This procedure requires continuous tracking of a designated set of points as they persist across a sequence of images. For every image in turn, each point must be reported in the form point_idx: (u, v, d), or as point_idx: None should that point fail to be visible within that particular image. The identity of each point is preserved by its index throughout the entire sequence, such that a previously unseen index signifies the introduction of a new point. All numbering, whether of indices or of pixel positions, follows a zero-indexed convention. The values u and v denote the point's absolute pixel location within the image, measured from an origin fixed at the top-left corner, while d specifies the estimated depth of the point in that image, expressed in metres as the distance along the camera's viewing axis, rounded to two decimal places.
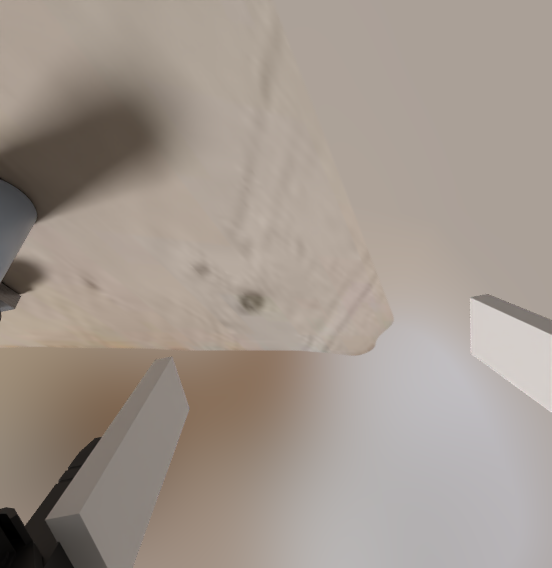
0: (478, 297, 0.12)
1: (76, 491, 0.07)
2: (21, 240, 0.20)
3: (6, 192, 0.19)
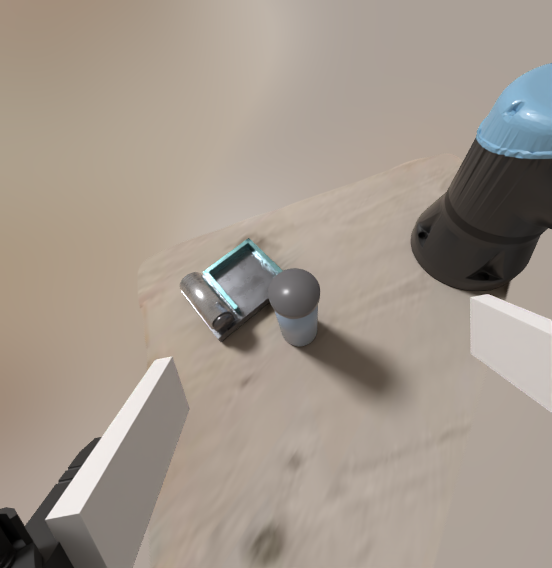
0: (478, 297, 0.12)
1: (76, 491, 0.07)
2: (300, 339, 0.37)
3: (316, 333, 0.39)
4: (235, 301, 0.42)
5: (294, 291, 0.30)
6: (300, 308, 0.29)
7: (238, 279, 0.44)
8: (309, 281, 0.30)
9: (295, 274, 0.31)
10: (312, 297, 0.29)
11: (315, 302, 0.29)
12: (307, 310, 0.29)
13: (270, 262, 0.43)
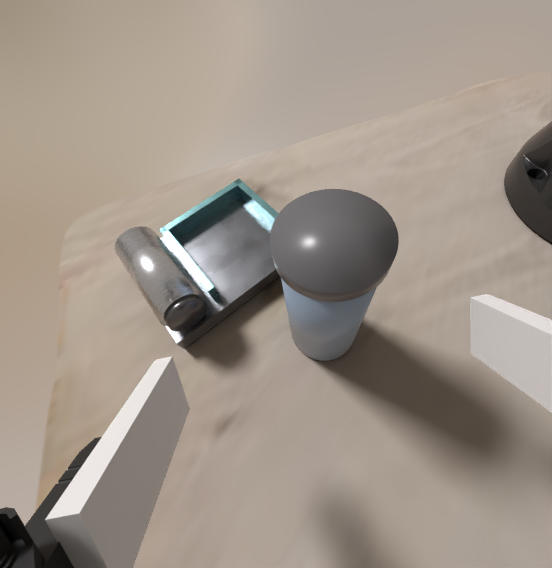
0: (478, 297, 0.12)
1: (76, 491, 0.07)
2: (329, 349, 0.19)
3: None
4: (212, 279, 0.24)
5: (334, 236, 0.12)
6: (352, 274, 0.11)
7: (218, 244, 0.26)
8: (369, 214, 0.13)
9: (334, 200, 0.13)
10: (380, 249, 0.12)
11: (389, 261, 0.12)
12: (370, 279, 0.11)
13: (274, 214, 0.25)
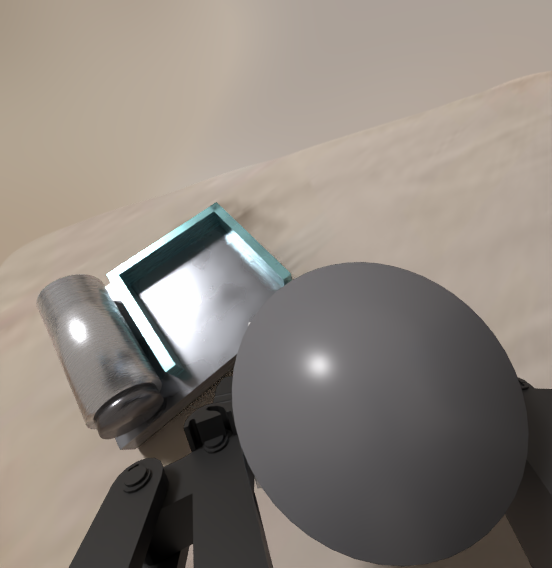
0: None
1: None
2: None
3: None
4: (176, 345, 0.18)
5: (373, 383, 0.06)
6: (427, 509, 0.05)
7: (188, 293, 0.19)
8: (445, 327, 0.06)
9: (366, 290, 0.07)
10: (486, 428, 0.05)
11: (514, 466, 0.05)
12: (477, 529, 0.04)
13: (262, 254, 0.18)
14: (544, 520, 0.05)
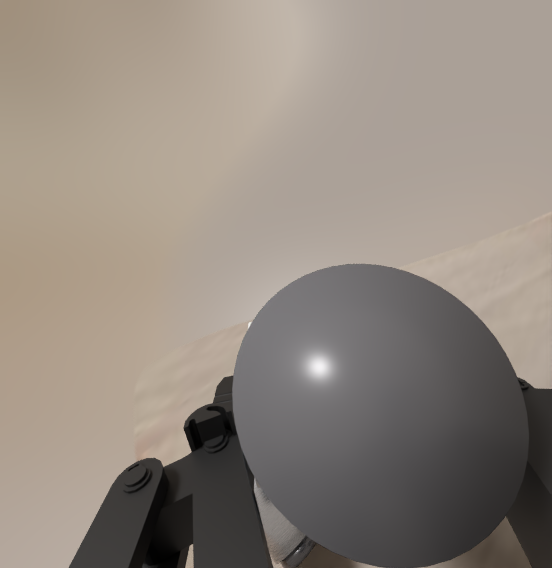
0: None
1: None
2: None
3: None
4: None
5: (373, 385, 0.06)
6: (427, 511, 0.05)
7: None
8: (445, 329, 0.06)
9: (367, 291, 0.07)
10: (487, 430, 0.05)
11: (515, 468, 0.05)
12: (477, 532, 0.04)
13: None
14: (544, 520, 0.05)
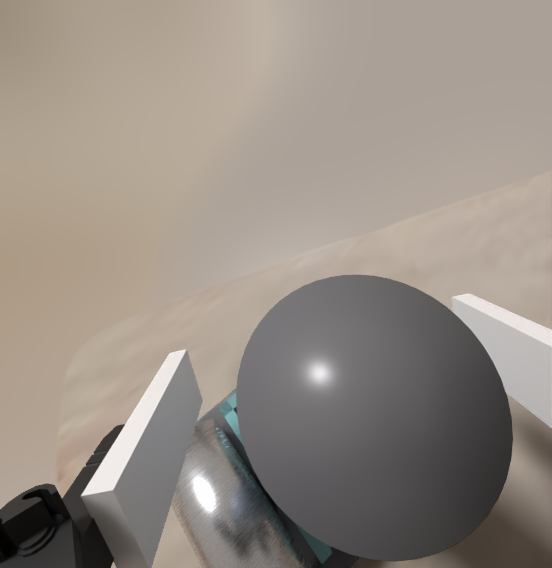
0: (459, 296, 0.12)
1: (108, 471, 0.07)
2: None
3: None
4: None
5: (368, 391, 0.06)
6: (417, 509, 0.05)
7: None
8: (436, 338, 0.06)
9: (363, 301, 0.07)
10: (473, 434, 0.05)
11: (499, 469, 0.05)
12: (463, 527, 0.05)
13: None
14: None
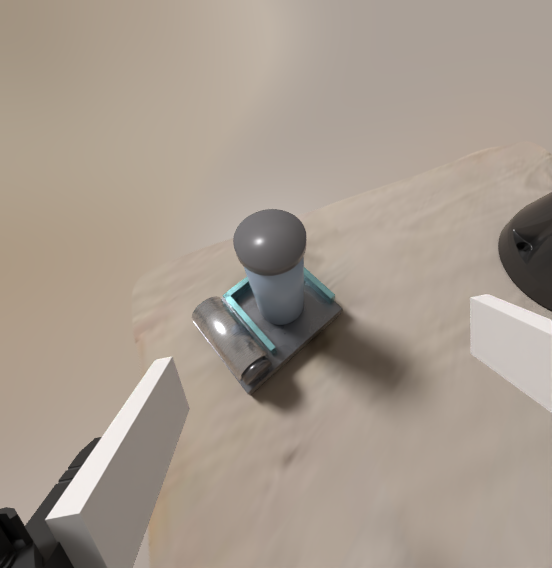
0: (478, 297, 0.12)
1: (76, 491, 0.07)
2: (281, 314, 0.28)
3: (301, 308, 0.31)
4: (269, 337, 0.30)
5: (270, 238, 0.21)
6: (278, 259, 0.20)
7: None
8: (291, 224, 0.22)
9: (272, 216, 0.22)
10: (295, 245, 0.21)
11: (299, 251, 0.21)
12: (288, 262, 0.20)
13: (316, 282, 0.31)
14: None
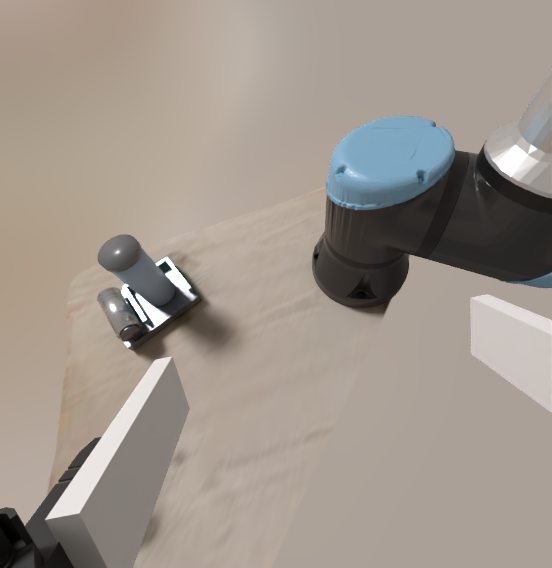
0: (478, 297, 0.12)
1: (76, 491, 0.07)
2: (150, 298, 0.45)
3: (170, 294, 0.47)
4: (148, 314, 0.47)
5: (118, 251, 0.38)
6: (118, 263, 0.37)
7: None
8: (131, 243, 0.38)
9: (122, 238, 0.39)
10: (129, 254, 0.37)
11: (130, 258, 0.37)
12: (123, 264, 0.37)
13: (181, 279, 0.48)
14: None
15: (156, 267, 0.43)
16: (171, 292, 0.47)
